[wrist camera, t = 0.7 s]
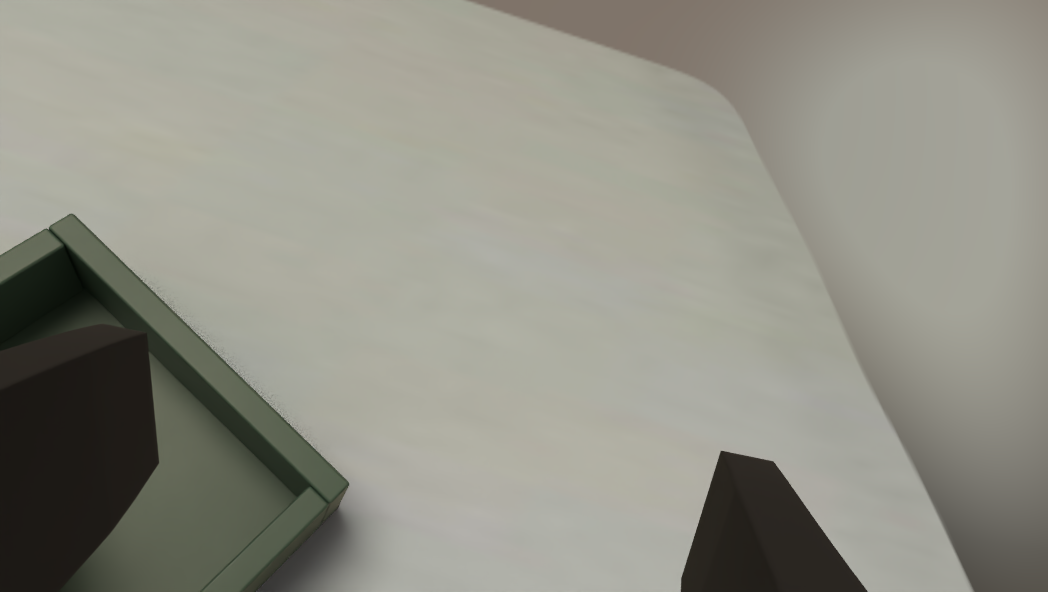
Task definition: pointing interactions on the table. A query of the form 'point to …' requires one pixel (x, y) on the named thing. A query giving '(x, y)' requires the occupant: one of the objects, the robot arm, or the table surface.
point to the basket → (175, 433)
